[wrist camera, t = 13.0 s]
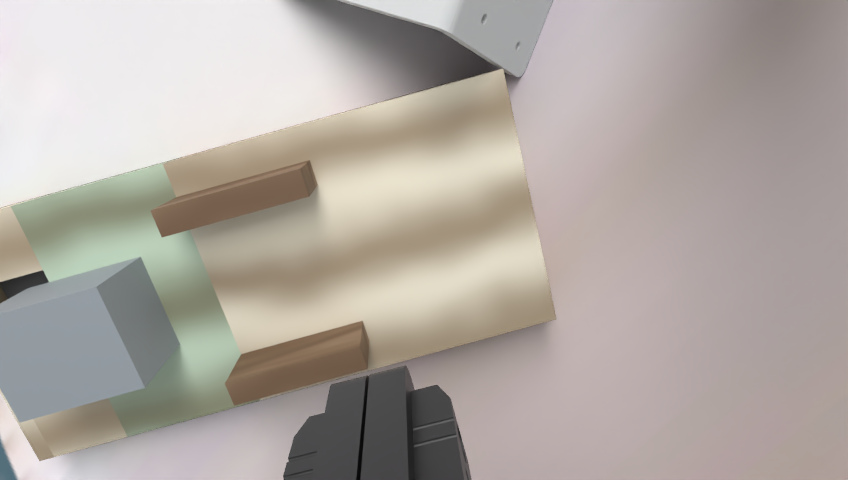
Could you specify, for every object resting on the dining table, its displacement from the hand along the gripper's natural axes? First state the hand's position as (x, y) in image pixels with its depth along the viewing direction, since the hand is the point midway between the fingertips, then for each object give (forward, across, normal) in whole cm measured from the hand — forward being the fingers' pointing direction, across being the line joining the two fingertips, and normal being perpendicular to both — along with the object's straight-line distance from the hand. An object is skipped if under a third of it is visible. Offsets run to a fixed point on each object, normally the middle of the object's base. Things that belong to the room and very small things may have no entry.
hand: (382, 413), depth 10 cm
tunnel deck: (+24, +10, +4) cm, 27 cm away
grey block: (+21, +19, +3) cm, 29 cm away
